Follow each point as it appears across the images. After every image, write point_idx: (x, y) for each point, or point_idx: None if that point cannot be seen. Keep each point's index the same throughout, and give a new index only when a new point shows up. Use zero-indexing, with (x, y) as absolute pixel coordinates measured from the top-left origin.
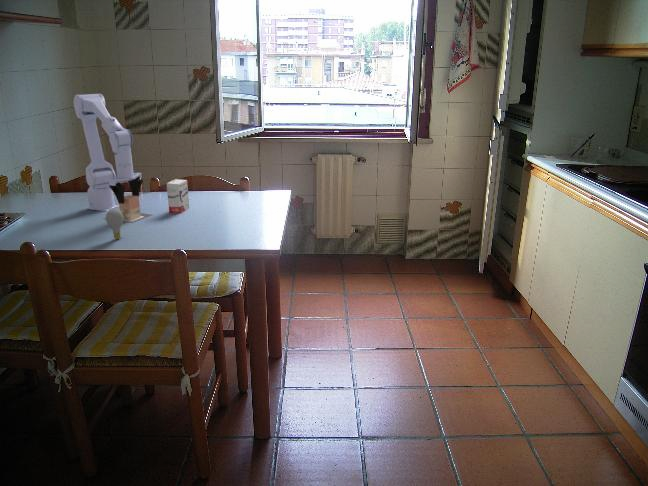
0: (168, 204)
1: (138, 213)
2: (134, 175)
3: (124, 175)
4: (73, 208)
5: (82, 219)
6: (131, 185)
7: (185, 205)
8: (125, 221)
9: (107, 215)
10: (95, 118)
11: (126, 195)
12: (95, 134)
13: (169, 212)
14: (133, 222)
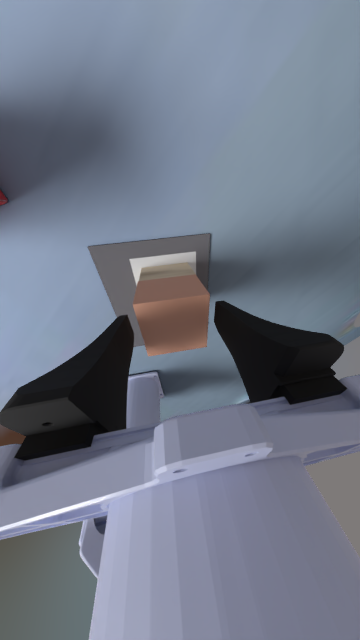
0: None
1: (150, 271)
2: (104, 502)
3: (331, 515)
4: (170, 406)
5: (216, 360)
6: (123, 393)
7: None
8: (202, 271)
9: None
10: None
11: (158, 354)
12: None
13: (4, 197)
14: (202, 235)
